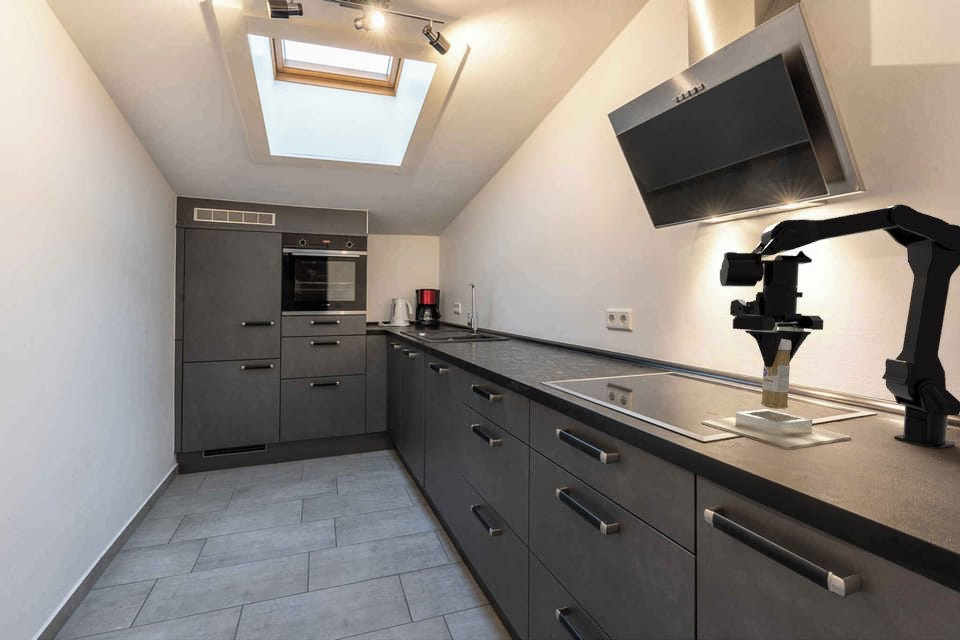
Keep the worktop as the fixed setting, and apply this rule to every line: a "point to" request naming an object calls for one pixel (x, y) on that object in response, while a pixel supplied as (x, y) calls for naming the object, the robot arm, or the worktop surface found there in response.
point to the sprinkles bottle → (777, 378)
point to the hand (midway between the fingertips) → (776, 366)
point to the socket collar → (774, 422)
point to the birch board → (784, 442)
